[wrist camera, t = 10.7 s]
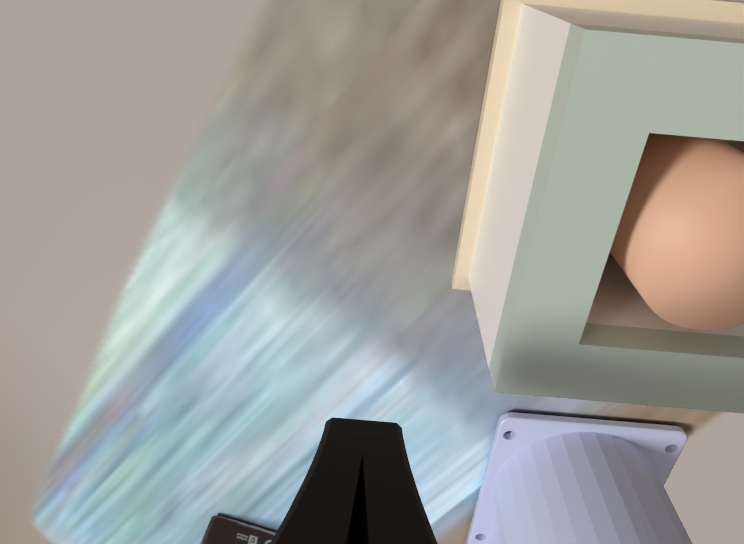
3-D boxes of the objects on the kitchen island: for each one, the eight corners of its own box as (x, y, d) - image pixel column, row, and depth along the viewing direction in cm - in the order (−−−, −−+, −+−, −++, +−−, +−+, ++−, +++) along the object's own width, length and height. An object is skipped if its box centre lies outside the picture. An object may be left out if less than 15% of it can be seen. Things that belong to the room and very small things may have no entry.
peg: (672, 230, 19) (778, 336, 14) (555, 221, 19) (617, 323, 14) (717, 111, 17) (861, 182, 12) (586, 101, 17) (672, 168, 12)
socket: (716, 304, 21) (835, 434, 15) (451, 281, 21) (472, 404, 15) (852, 12, 16) (1105, 46, 10) (504, -19, 16) (565, -3, 10)
